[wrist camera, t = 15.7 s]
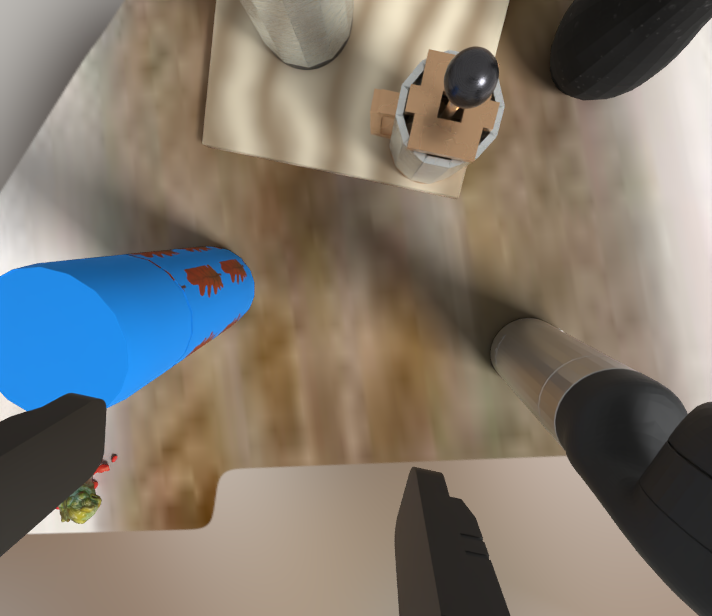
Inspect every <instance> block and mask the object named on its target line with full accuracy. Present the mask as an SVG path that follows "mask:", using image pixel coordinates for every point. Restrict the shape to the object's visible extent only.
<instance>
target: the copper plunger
mask: <svg viewBox="0 0 712 616" xmlns="http://www.w3.org/2000/svg"><path fill="white" fill-rule="evenodd" d="M498 78H499V68H498V63H497V61H496V58H495V57H494V55H493V54H492V53H491V52H490V51H489V50H487V49H485V48H483V47H478V46H473V47H469V48H466V49H464V50H462V51H460V52H459V53H458V54H456V55H455V56H454V57H453V59H452V60H451V61H450V63H449V65H448V66H447V69H446V72H445V75H444V90H445V94H446V96H447V98H448V99H447V98H444V97H442V98H441V102H440V106H439V111H438V115H437V118H441V119H445V120H450V121H455V122H460V119H461V115H462V111H463V110H462V109H461V108H463V109H471V108H475V107H477V106H479V105H481V104H483V103H484V102H485V101H486V100H487V99H488V98H489V97H490V96H491V95H492V93H493V92H494V90H495V88H496V85H497V82H498ZM413 117H414V116H411V115H409V117H408V119H407V122H406V127H407V131H408V134H409V136H410V131H411V127H412V122H413ZM425 154H426V153H425ZM426 155H427V156H432V157H436V158H441V159H446V160H451V159H450V158H445V157H440V156H436V155H431V154H426Z"/></svg>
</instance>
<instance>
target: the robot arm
mask: <svg viewBox="0 0 712 616" xmlns="http://www.w3.org/2000/svg"><path fill="white" fill-rule="evenodd" d="M491 361H492V365H493V366H494V368H495V370H496V371H497V373H498V374H499V375H500V376H501V377H502V378H503V380H504V381H505V382H506V383H507V384H508V386H509V387H510V388H511V389H512V390H513V391H514V393H515V394H516V395H517V396H518V397H519V398H520V399H521V401H522V402H523V403H524V404H525V405H526V406H527V407H528V409H529V410H530V411H531V412H532V413H533V414H534V415H535V417H536V418H537V419H538V420H539V421H540V422H541V424H542V425H543V426H544V427H545V428H546V429H547V430H548V431H549V433H550V434H551V435H552V436H553V437H554V438H555V439H556V441H557V442H558V443H559V444H560V445H561V446H562V447H563V449H564V450H565V451H566V454H567V457H568V459H569V461H570V463H571V464H572V466H573V467H574V469H575V470H576V471H577V472H578V474H579V475H580V476H581V478H582V479H583V480H584V481H585V483H586V484H587V485H588V487H589V488H590V489H591V491H592V492H593V493H594V494H595V496H596V497H597V499H598V500H599V501H600V503H601V504H602V505H603V507H604V508H605V509H606V511H607V512H608V514H609V515H610V516H611V518H612V519H613V520H614V522H615V523H616V525H617V526H618V527H619V529H620V530H621V531H622V533H623V534H624V535H625V536H626V538H627V539H628V540H629V542H630V543H631V544H632V545H633V547H634V548H635V549H636V551H637V552H638V553H639V554H640V556H641V557H642V558H643V559H644V560H645V561H646V563H647V564H648V565H649V566H650V567H651V568H652V569H653V570H654V571H655V573H656V574H657V575H658V576H659V577H660V578H661V579H662V580H663V582H664V583H666V585H667V586H668V587H669V588H670V589H671V590H672V591H673V592H674V593H675V594H676V595H677V596H678V597H679V598H680V599H681V600H682V601H684V602H685V603H686V604H687V605H688V606H689V607H690V608H691V609H692V610H693V611H694V612H696V613H697V614H698V615H699V616H712V402H707V403H704V404H701V405H699V406H697V407H696V408H695V409H694V410H692V411H691V412H690V413H689V414H687V411H686V409H685V407H684V406H683V404H682V402H681V401H680V400H679V398H678V397H677V396H676V395H675V394H674V393H673V392H672V391H670V390H669V389H668V388H666V387H665V386H663V385H662V384H660V383H659V382H657V381H655V380H653V379H651V378H649V377H648V376H646V375H644V374H642V373H640V372H638V371H636V370H634V369H632V368H630V367H629V366H627V365H625V364H623V363H621V362H619V361H617V360H615V359H613V358H611V357H610V356H608V355H606V354H604V353H602V352H600V351H598V350H597V349H595V348H593V347H591V346H589V345H587V344H585V343H584V342H582V341H580V340H578V339H576V338H574V337H572V336H571V335H569V334H567V333H565V332H563V331H562V330H560V329H558V328H556V327H554V326H552V325H550V324H548V323H546V322H544V321H542V320H539V319H535V318H523V319H518V320H516V321H513V322H511V323H509V324H508V325H506V326H504V327H503V328H502V329H501V330H500V331H499V332H498V334H497V335H496V337H495V338H494V341H493V343H492V346H491ZM105 426H106V403H105V401H104V400H103V399H99V398H95V397H90V396H85V395H81V394H76V393H67V394H65V395H63V396H61V397H59V398H57V399H56V400H54V401H52V402H50V403H48V404H46V405H44V406H42V407H41V408H37V409H33V410H30V411H27V412H24V413H20V414H17V415H14V416H11V417H9V418H7V419H5V420H3V421H1V422H0V557H1V556H2V555H3V554H4V553H5V552H6V551H7V550H9V549H10V548H11V547H12V546H13V545H14V544H16V543H17V542H18V541H19V540H20V539H21V538H22V537H24V536H25V535H26V534H27V533H28V532H29V531H30V530H32V529H33V528H34V527H35V526H36V525H37V524H38V523H40V522H41V521H42V520H43V519H44V518H45V517H46V516H48V515H49V514H50V513H51V512H52V511H53V510H54V509H56V508H57V507H58V506H59V505H60V504H61V503H62V502H64V501H65V500H66V499H67V498H68V497H69V496H70V495H72V494H73V493H74V492H75V491H76V490H77V489H78V488H79V487H81V486H82V485H83V484H84V483H85V482H86V481H87V480H89V479H90V478H91V477H92V475H93V474H94V473H95V472H96V470H97V469H98V467H99V465H100V463H101V461H102V458H103V455H104V444H105ZM482 540H483V537H482V534H481V532H480V529H479V526H478V523H477V520H476V518H475V516H474V515H473V514H472V512H471V511H470V510H469V508H468V507H467V506H466V505H465V503H464V502H463V501H462V500H461V499H458V498H453V497H450V496H449V493H448V490H447V486H446V482H445V479H444V476H443V474H442V473H440V472H435V471H431V470H426V469H421V468H417V467H412V469H411V471H410V473H409V476H408V480H407V484H406V488H405V491H404V494H403V498H402V502H401V505H400V509H399V513H398V516H397V521H396V528H395V558H396V573H397V588H398V603H399V616H510V613H509V611H508V608H507V605H506V602H505V599H504V597H503V594H502V591H501V588H500V585H499V582H498V579H497V577H496V574H495V571H494V568H493V565H492V563H491V560H489V554H488V552H487V548H486V546H485V543H484V542H483V541H482Z"/></svg>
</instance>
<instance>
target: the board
mask: <svg viewBox="0 0 712 616" xmlns="http://www.w3.org/2000/svg"><path fill="white" fill-rule="evenodd" d="M508 4H509V0H354V11H353V24H352V30H351V34H350V37H349V39H348V42H347V44H346V46H345V47H344V49H343V50H342V52H341V53H340V54H339V55H338V57H337V58H335V59H334V60H333V61H332V62H330V63H329V64H327V65H325V66H323V67H321V68H318V69H313V70H301V69H296V68H293V67H291V66H288V65H286V64H285V63H283V62H282V61H281V60H279V59H278V58H277V57H276V56H275V55H274V54H273V53H272V51H271V50H270V48H269V47H268V46H266V45H265V43H264V41H263V40H262V38H261V36H260V34H259V33H258V31H257V29H256V27H255V26H254V24H253V22H252V21H251V19H250V17H249V15H248V14H247V12H246V10H245V8H244V7H243V5H242V3H241V2H240V0H216V8H215V18H214V28H213V39H212V49H211V59H210V69H209V79H208V89H207V99H206V109H205V119H204V130H203V140H202V144H203V145H205V146H207V147H210V148H215V149H220V150H225V151H229V152H234V153H239V154H244V155H248V156H253V157H258V158H263V159H268V160H272V161H277V162H282V163H287V164H291V165H296V166H301V167H306V168H310V169H315V170H320V171H325V172H330V173H334V174H339V175H344V176H349V177H353V178H358V179H363V180H368V181H373V182H377V183H382V184H387V185H392V186H396V187H401V188H406V189H411V190H415V191H420V192H425V193H430V194H435V195H439V196H444V197H449V198H454V199H457V198H459V194H460V190H461V186H462V182H463V179H464V175H465V171H466V167H467V165H466V166H465V167H463V168H462V169H460V170H459V171H457V172H456V173H454V174H453V175H451V176H450V177H448V178H445V179H443V180H441V181H438V182H435V183H431V184H421V183H416V182H413V181H411V180H409V179H407V178H406V177H405V176H403V175H402V174H401V173H400V172H399V171H398V169H397V168H396V166H395V164H394V162H393V160H392V156H391V151H390V147H389V144H390V139H389V138H385V137H380V136H376V135H373V134H371V130H370V110H371V104H372V99H373V94H374V89H380V90H381V89H384V90H389V91H394V92H399V93H400V91H401V86H402V84H403V83H404V81H405V80H406V79H407V78H408V77H409V75H410V74H411V73H412V72H413V70H414V69H415V68H416V67H417V65H418V64H419V63H420V62H421V61H422V60H424V59H426V58H427V54H428V51H429V49H431V50H435V51H440V52H445V51H448V50H449V51H450V50H453V51H457V52H460V51H462V50H464V49H466V48H469V47H473V46H478V47H483V48H485V49H487V50H489V51H490V52H491V53H492V54H493V55H494V57H495V54H496V50H497V47H498V43H499V39H500V35H501V31H502V27H503V23H504V19H505V16H506V12H507V8H508Z"/></svg>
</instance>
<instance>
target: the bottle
mask: <svg viewBox="0 0 712 616" xmlns="http://www.w3.org/2000/svg"><path fill="white" fill-rule="evenodd" d="M711 18H712V0H574V1H573V3H572V4H571V6H570V7H569V9H568V10H567V12H566V13H565V15H564V16H563V18H562V20H561V22H560V25H559V27H558V30H557V32H556V35H555V38H554V41H553V44H552V46H551V57H550V72H551V76H552V80H553V82H554V83H555V85H556V86H557V88H558V89H559V90H560V91H562V92H563V93H564V94H566V95H569V96H571V97H574V98H578V99H581V100H598V99H608V98H612V97H616V96H618V95H621V94H623V93H626V92H629V91H631V90H633V89H635V88H636V87H638V86H640V85H641V84H643V83H644V82H646V81H647V80H649V79H650V78H651V77H653V76H654V75H655V74H657V73H658V72H659V71H660V70H662V69H663V68H664V67H666V66H667V65H668V64H669V63H670V62H671V61H672V60H673V59H674V58H676V57H677V56H678V55H679V53H680V52H681V51H682V50H683V49H684V48H685V47H686V46H687V45H688V44H689V43H690V41H691V40H692V39H693V38H694V37H695V35H696V34H697V33H698V32H699V31H700V29H701V28H702V27H703V26H704V25H705V24H706V23H707V22H708V21H709V20H710V19H711Z"/></svg>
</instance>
